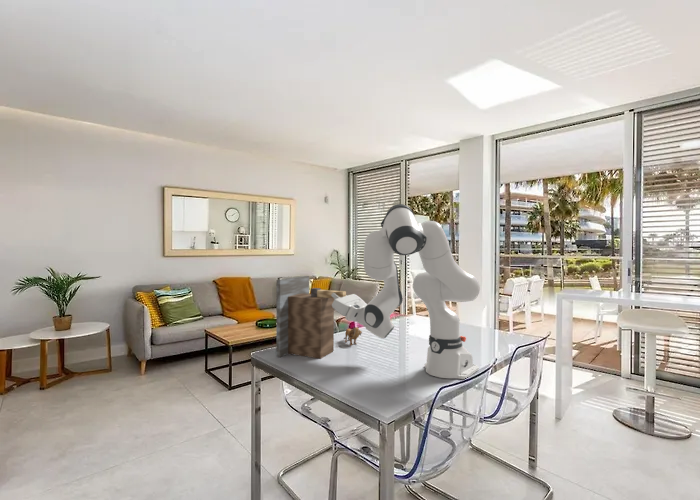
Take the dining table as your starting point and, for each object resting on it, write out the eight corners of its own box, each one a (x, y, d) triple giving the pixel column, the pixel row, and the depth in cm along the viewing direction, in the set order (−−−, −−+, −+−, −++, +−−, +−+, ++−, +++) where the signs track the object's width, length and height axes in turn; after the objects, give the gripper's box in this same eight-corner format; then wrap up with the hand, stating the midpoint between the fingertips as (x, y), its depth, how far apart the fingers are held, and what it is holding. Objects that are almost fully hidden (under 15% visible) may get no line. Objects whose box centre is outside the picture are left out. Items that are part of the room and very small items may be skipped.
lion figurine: (363, 345, 183) (363, 327, 183) (354, 347, 180) (354, 328, 180) (347, 339, 195) (347, 322, 195) (339, 340, 193) (339, 323, 192)
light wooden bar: (346, 298, 165) (346, 289, 165) (342, 299, 162) (342, 290, 161) (315, 295, 172) (315, 287, 172) (311, 296, 168) (311, 288, 168)
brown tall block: (339, 348, 178) (339, 277, 177) (313, 362, 156) (313, 281, 156) (305, 343, 186) (305, 275, 186) (276, 356, 164) (276, 279, 164)
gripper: (372, 301, 169) (348, 285, 174) (353, 308, 150) (327, 289, 155) (365, 313, 170) (342, 296, 175) (345, 321, 152) (320, 302, 157)
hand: (334, 293), depth 165 cm, fingers closed on light wooden bar, 3 cm apart
